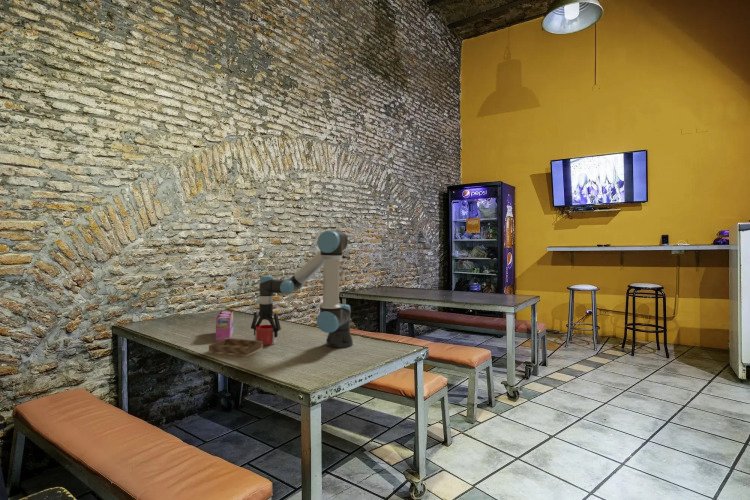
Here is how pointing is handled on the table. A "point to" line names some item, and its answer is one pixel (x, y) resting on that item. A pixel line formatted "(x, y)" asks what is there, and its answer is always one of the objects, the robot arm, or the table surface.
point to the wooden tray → (236, 347)
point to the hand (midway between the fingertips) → (265, 342)
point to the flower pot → (265, 334)
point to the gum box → (224, 325)
